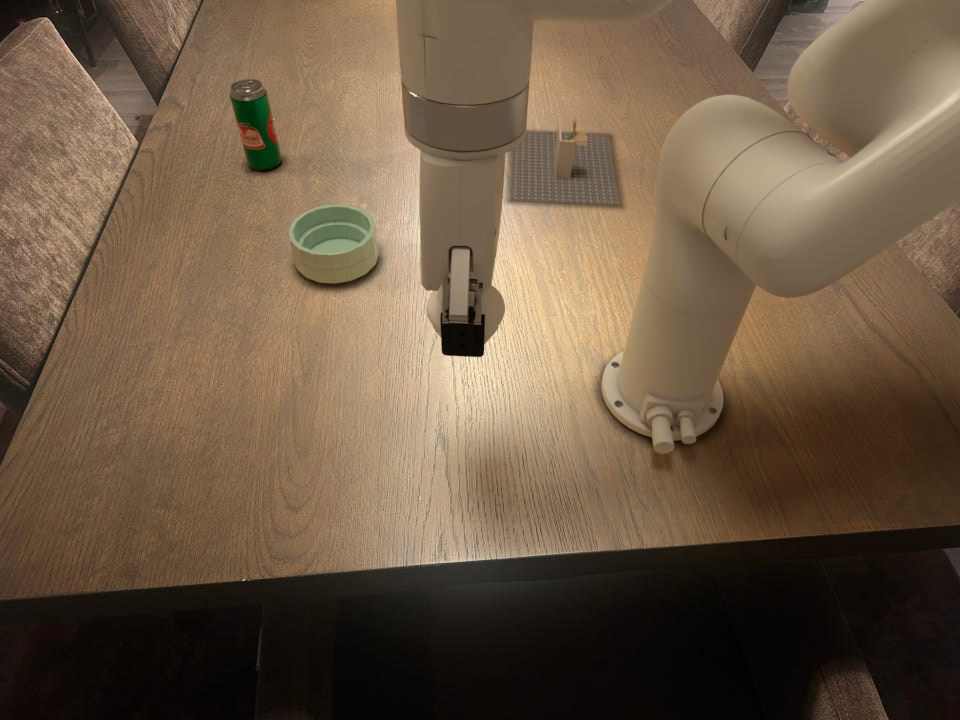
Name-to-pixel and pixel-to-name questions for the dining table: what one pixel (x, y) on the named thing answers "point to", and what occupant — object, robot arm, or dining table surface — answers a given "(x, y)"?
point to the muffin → (490, 306)
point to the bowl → (334, 243)
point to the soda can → (255, 124)
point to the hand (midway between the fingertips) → (465, 321)
